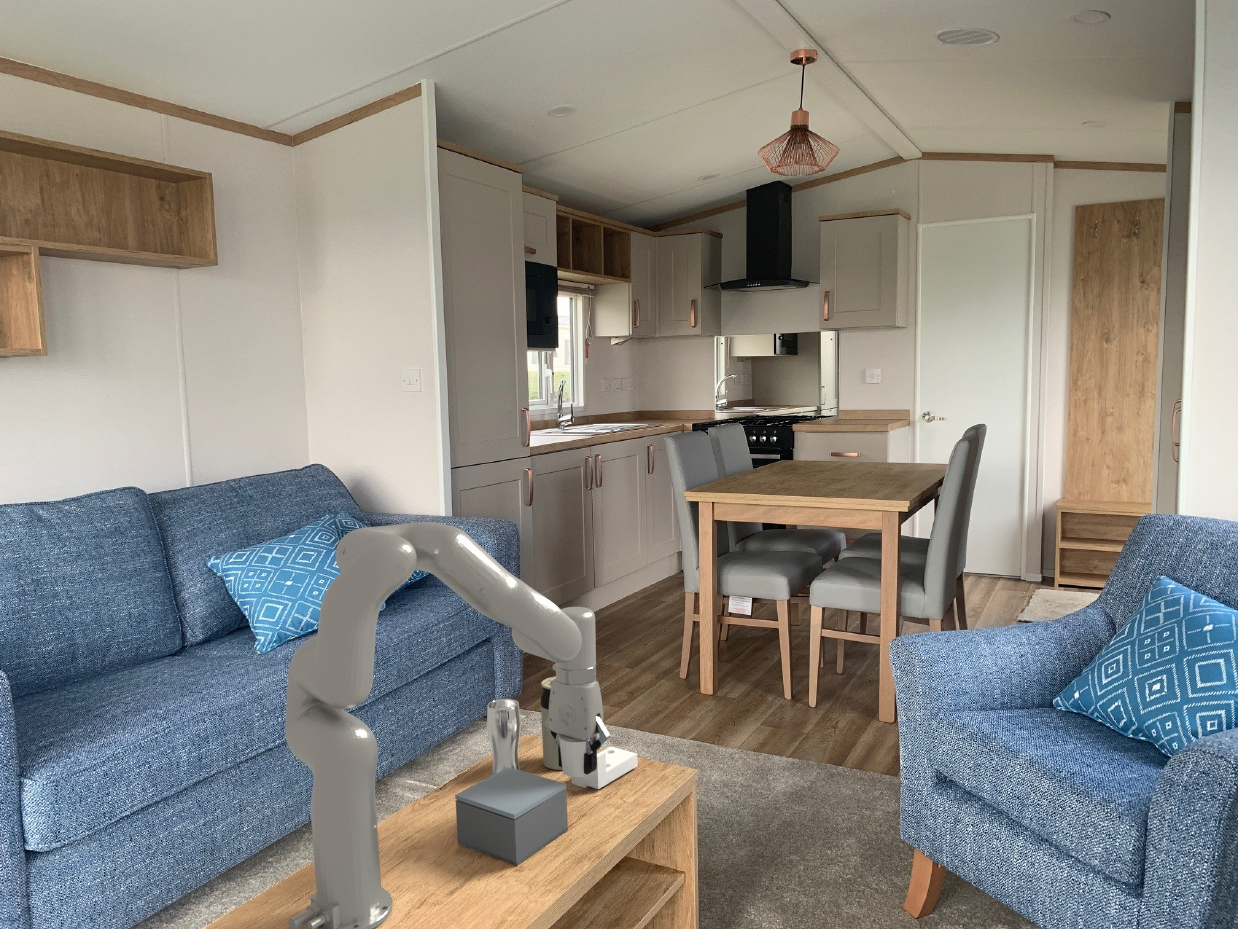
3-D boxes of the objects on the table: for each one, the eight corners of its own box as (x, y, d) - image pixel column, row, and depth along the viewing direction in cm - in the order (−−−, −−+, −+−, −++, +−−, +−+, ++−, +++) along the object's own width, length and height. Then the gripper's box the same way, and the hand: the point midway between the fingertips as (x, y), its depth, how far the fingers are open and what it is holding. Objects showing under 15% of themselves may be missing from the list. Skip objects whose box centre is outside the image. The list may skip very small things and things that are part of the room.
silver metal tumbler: (509, 763, 188) (506, 696, 187) (529, 772, 183) (526, 703, 182) (483, 774, 183) (479, 705, 182) (503, 784, 178) (499, 713, 177)
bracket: (598, 793, 173) (597, 757, 173) (571, 785, 178) (570, 749, 177) (637, 770, 183) (636, 735, 183) (611, 762, 188) (610, 728, 187)
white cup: (599, 765, 167) (599, 729, 166) (590, 780, 160) (589, 743, 160) (565, 762, 168) (564, 726, 168) (554, 776, 162) (554, 740, 161)
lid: (514, 819, 147) (514, 814, 146) (455, 799, 155) (455, 795, 154) (566, 788, 158) (566, 784, 158) (508, 771, 166) (508, 767, 166)
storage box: (516, 866, 147) (514, 821, 147) (457, 844, 155) (455, 800, 155) (568, 830, 159) (566, 788, 158) (510, 811, 167) (508, 771, 166)
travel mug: (587, 759, 189) (584, 678, 187) (567, 774, 182) (564, 690, 180) (556, 752, 193) (553, 673, 191) (536, 767, 186) (532, 685, 184)
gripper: (528, 671, 165) (530, 765, 166) (601, 687, 155) (602, 786, 156) (553, 661, 171) (555, 751, 172) (625, 676, 161) (626, 771, 162)
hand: (577, 767), depth 164 cm, fingers closed on white cup, 5 cm apart
